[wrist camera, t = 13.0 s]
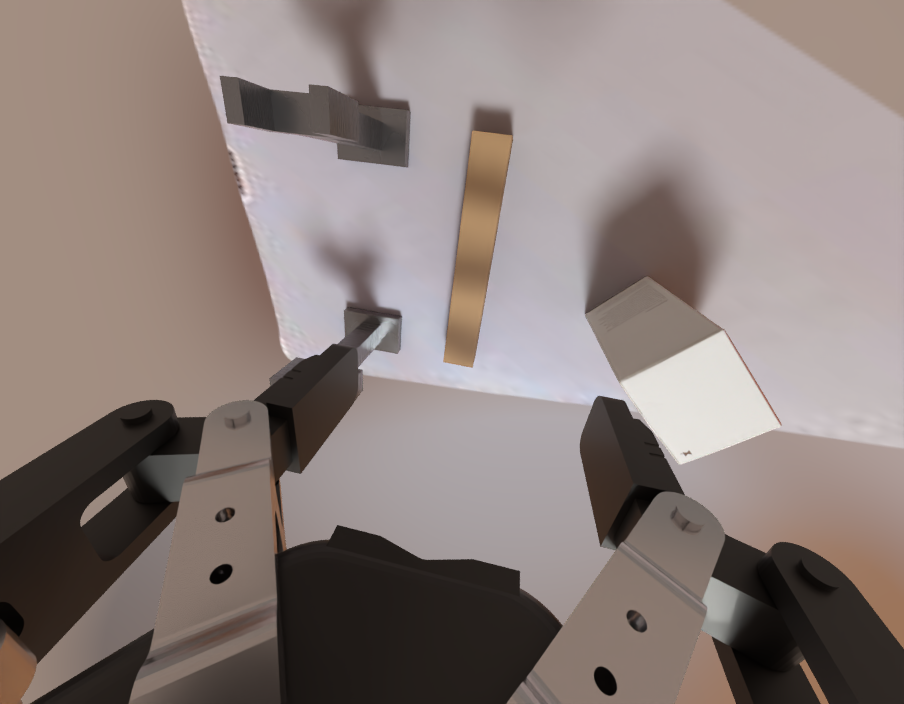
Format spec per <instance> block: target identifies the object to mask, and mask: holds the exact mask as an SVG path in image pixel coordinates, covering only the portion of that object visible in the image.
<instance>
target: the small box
mask: <svg viewBox="0 0 904 704" xmlns="http://www.w3.org/2000/svg"><path fill="white" fill-rule="evenodd" d="M585 317H586V319H587V321H588V322H589V324H590V326H591V328H592V330H593V332H594V334H595V336H596V338H597V340H598V342H599V344H600V346H601V348H602V350H603V352H604V354H605V356H606V358H607V360H608V362H609V364H610V366H611V368H612V370H613V372H614V374H615V376H616V378H617V380H618V381H619V383H620V385H621V387H622V388H623V389H624V391H625V392H626V394H627V395H628V397H629V398H630V399H631V401H632V402H633V404H634V405H635V407H636V408H637V409H638V411H639V412H640V414H641V415H642V417H643V418H644V419H645V421H646V422H647V424H648V425H649V427H650V428H651V429H652V431H653V432H654V434H655V435H656V436H657V437H658V438H659V439H660V441H661V442H662V443H663V444H664V446H665V447H666V448H667V450H668V451H669V453H670V454H671V455H672V456H673V458H674V459H675V460H676V462H677V463H678V464H679V465H681V464H683V463H686V462H689V461H692V460H695V459H698V458H701V457H703V456H706V455H709V454H711V453H714V452H717V451H719V450H722V449H725V448H727V447H730V446H732V445H735V444H737V443H740V442H742V441H745V440H748V439H750V438H753V437H756V436H758V435H760V434H763V433H766V432H768V431H770V430H773V429H776V428H778V427H781V422H780V421H779V419H778V417H777V416H776V414H775V412H774V411H773V409H772V407H771V405H770V404H769V402H768V400H767V399H766V397H765V395H764V394H763V392H762V391H761V389H760V387H759V386H758V384H757V382H756V381H755V379H754V377H753V376H752V374H751V372H750V371H749V369H748V367H747V366H746V364H745V362H744V361H743V359H742V357H741V356H740V354H739V353H738V351H737V349H736V348H735V346H734V344H733V343H732V341H731V339H730V338H729V336H728V334H727V333H726V331H725V330H724V329H722V328H721V327H719V326H718V325H716V324H715V323H713V322H712V321H711V320H709V319H708V318H706V317H705V316H704V315H702V314H701V313H699V312H698V311H696V310H695V309H694V308H692V307H691V306H689V305H688V304H686V303H685V302H684V301H682V300H681V299H679V298H678V297H677V296H675V295H674V294H672V293H671V292H670V291H668V290H667V289H665V288H664V287H662V286H661V285H660V284H658V283H657V282H656V281H654V280H653V279H651V278H650V277H648V276H647V277H644V278H643V279H641V280H640V281H638V282H636V283H635V284H633V285H632V286H630V287H628V288H627V289H625V290H624V291H622V292H620V293H619V294H617V295H616V296H614V297H612V298H611V299H609V300H607V301H606V302H604V303H603V304H601V305H599V306H598V307H596V308H595V309H593V310H592V311H590V312H588V313H587V314H585Z"/></svg>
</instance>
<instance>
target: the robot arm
mask: <svg viewBox="0 0 904 704" xmlns="http://www.w3.org/2000/svg"><path fill="white" fill-rule="evenodd" d="M357 392H358V352H357V349H356V348H353V347H348V346H343V345H338V344H332V345H331V346H330V347H329V348H328V349H326V350H325V351H324V352H323V353H322V354H321V355H320V356H319V355H314V356H312V357H309V358H307V359H305V360H302V361H301V362H299V363H298V364H297V365H296V366H295V367H293V368H292V369H291V371H289V372H287V373H286V374H285V375H284V376H283V378H280V379H279V380H278V381H276V382H275V383H274V384H273V385H272V386H270V387H269V388H268V389H267V390H266V391H264V392H263V393H262V394H261V395H260V396H258V397H257V398H256V399H255V400H254V401H252V400H243V401H235V402H231V403H228V404H225V405H223V406H221V407H218V408H217V409H215V410H214V411H212V412H211V413H210V414H209V415H208V416H207V417H189V418H188V417H185V418H177V416H176V413H175V410H174V407H173V405H172V404H170V403H169V402H166V401H162V400H146V401H140V402H136V403H132V404H129V405H126V406H123V407H121V408H119V409H116V410H115V411H113V412H111V413H109V414H108V415H106V416H105V417H103V418H101V419H100V420H98V421H96V422H95V423H93V424H91V425H90V426H88V427H86V428H85V429H83V430H82V431H80V432H78V433H77V434H75V435H73V436H72V437H70V438H68V439H67V440H65V441H64V442H62V443H60V444H59V445H57V446H55V447H54V448H52V449H51V450H49V451H47V452H46V453H44V454H42V455H41V456H39V457H37V458H36V459H34V460H32V461H31V462H29V463H28V464H26V465H24V466H23V467H21V468H19V469H18V470H16V471H14V472H13V473H11V474H10V475H8V476H7V477H5V478H3V479H1V480H0V704H22V700H21V698H22V697H23V695H24V693H25V692H26V690H27V689H28V687H29V685H30V684H31V682H32V679H33V677H34V674H35V671H36V666H37V664H38V663H39V662H40V661H41V659H42V658H43V657H44V656H45V655H46V654H47V653H48V652H49V651H50V650H51V649H52V648H53V646H55V644H57V642H58V641H59V640H60V639H61V638H62V637H63V636H64V635H65V634H66V633H67V632H68V631H69V630H70V629H71V628H72V627H73V625H74V624H75V623H76V622H77V621H78V620H79V619H80V618H81V617H82V616H83V615H84V614H85V613H86V612H87V611H88V610H89V608H90V607H91V606H92V605H93V604H94V603H95V602H96V601H97V600H98V599H99V598H100V597H101V596H102V595H103V594H104V593H105V591H107V589H108V588H109V587H110V586H111V585H112V584H113V583H114V582H115V581H116V580H117V579H118V578H119V577H120V576H121V575H122V573H124V571H125V570H126V569H127V568H128V567H129V566H130V565H131V564H132V563H133V562H134V561H135V560H136V559H137V558H138V557H139V556H140V554H141V553H142V552H143V551H144V550H145V549H146V548H147V547H148V546H149V545H150V544H151V543H152V542H153V541H154V540H155V539H156V538H157V536H158V535H159V534H160V533H161V532H162V531H163V530H164V529H165V528H166V527H167V526H168V525H169V524H170V522H172V521H173V519H174V518H175V517H176V516H177V517H176V522H175V527H174V532H173V537H172V542H171V547H170V552H169V557H168V563H167V567H166V573H165V578H164V583H163V588H162V593H161V598H160V603H159V608H158V613H157V618H156V623H155V628H154V629H152V630H151V631H149V632H147V633H146V634H144V635H143V636H141V637H139V638H138V639H136V640H134V641H132V642H131V643H129V644H128V645H126V646H124V647H123V648H121V649H119V650H118V651H116V652H114V653H113V654H111V655H110V656H108V657H106V658H105V659H103V660H101V661H100V662H98V663H96V664H95V665H93V666H91V667H90V668H88V669H87V670H85V671H83V672H81V673H80V674H78V675H77V676H75V677H73V678H71V679H70V680H68V681H67V682H65V683H63V684H62V685H60V686H58V687H57V688H56V689H53V690H52V691H50V692H48V693H47V694H45V695H43V696H42V697H40V698H38V699H37V700H35V701H34V702H32V703H30V704H675V701H676V698H677V695H678V693H679V690H680V687H681V684H682V681H683V679H684V675H685V673H686V670H687V667H688V665H689V662H690V659H691V656H692V653H693V650H694V648H695V645H696V642H697V639H698V636H699V633H700V631H701V630H702V631H704V632H706V633H707V634H709V635H711V636H712V639H713V642H714V645H715V647H716V650H717V653H718V656H719V658H720V661H721V663H722V666H723V669H724V672H725V675H726V677H727V680H728V683H729V686H730V688H731V691H732V694H733V696H734V699H735V702H736V704H820V702H819V700H818V698H817V696H816V694H815V692H814V690H813V688H812V686H811V685H810V683H809V681H808V679H807V677H806V675H805V673H804V671H803V669H802V668H801V666H800V664H799V663H800V662H802V661H803V660H804V659H805V660H806V662H807V663H808V665H809V667H810V669H811V671H812V673H813V674H814V676H815V678H816V680H817V682H818V684H819V685H820V687H821V689H822V691H823V693H824V695H825V696H826V699H827V701H828V703H829V704H904V649H903V647H902V646H901V645H900V644H899V642H898V641H897V640H896V638H895V637H894V636H893V634H892V633H891V632H890V631H889V629H888V628H887V627H886V625H885V624H884V623H883V622H882V620H881V619H880V618H879V616H878V615H877V614H876V612H875V611H874V610H873V608H872V607H871V606H870V605H869V603H868V602H867V601H866V599H865V598H864V597H863V595H862V594H861V593H860V592H859V590H858V589H857V588H856V586H855V585H854V584H853V583H852V582H851V581H850V580H849V579H848V578H847V577H846V576H845V575H844V574H843V573H842V572H841V571H840V570H839V569H838V568H836V567H835V566H834V565H833V564H831V563H830V562H829V561H827V560H826V559H824V558H823V557H821V556H819V555H818V554H816V553H814V552H812V551H810V550H809V549H806V548H804V547H802V546H799V545H796V544H793V543H788V542H779V543H776V544H774V545H773V546H772V548H771V549H770V550H769V551H768V552H767V553H764V552H762V551H760V550H758V549H756V548H753V547H751V546H749V545H747V544H745V543H742V542H740V541H738V540H736V539H734V538H732V537H729V536H728V535H726V534H725V533H724V530H723V528H722V526H721V524H720V523H719V521H718V520H717V518H716V517H715V516H714V515H713V514H712V513H711V512H710V511H709V510H708V509H706V508H705V507H704V506H703V505H701V504H700V503H698V502H697V501H695V500H693V499H691V498H689V497H687V496H685V494H684V492H683V491H682V489H681V487H680V485H679V483H678V481H677V479H676V477H675V475H674V473H673V471H672V469H671V467H670V465H669V464H668V462H667V460H666V459H665V458H664V454H663V452H662V450H661V448H659V444H658V442H657V440H656V438H655V437H654V435H653V433H652V431H651V430H650V429H649V428H647V427H646V426H645V425H644V424H643V423H642V422H641V421H640V420H639V419H633V417H632V415H631V413H630V411H629V409H628V407H627V405H626V403H625V401H623V400H618V399H613V398H608V397H603V396H598V397H597V398H596V399H595V401H594V403H593V406H592V409H591V412H590V414H589V416H588V419H587V422H586V424H585V427H584V429H583V432H582V435H581V440H580V454H581V458H582V463H583V467H584V472H585V477H586V482H587V486H588V491H589V496H590V500H591V505H592V509H593V514H594V519H595V523H596V528H597V532H598V537H599V542H600V546H601V547H604V548H608V549H613V550H616V551H615V552H614V554H613V555H612V557H611V558H610V560H609V561H608V562H607V564H606V565H605V567H604V568H603V570H602V571H601V572H600V574H599V575H598V577H597V578H596V579H595V581H594V582H593V584H592V585H591V587H590V588H589V589H588V591H587V592H586V594H585V595H584V597H583V598H582V600H581V601H580V602H579V604H578V605H577V607H576V608H575V609H574V611H573V613H572V614H571V615H570V617H569V618H568V619H567V621H566V622H565V624H564V625H562V624H561V623H560V622H559V620H558V619H557V618H556V617H555V616H554V615H553V614H552V613H551V612H550V611H549V610H548V609H547V608H546V607H545V606H544V605H543V604H542V603H541V602H539V601H538V600H537V599H535V598H534V597H533V596H531V595H530V594H529V593H527V592H526V591H524V590H522V589H520V571H517V570H513V569H509V568H505V567H501V566H497V565H493V564H489V563H486V562H482V561H477V560H474V559H470V560H469V559H467V560H466V559H465V560H464V559H461V560H424V559H421V558H418V557H417V556H415V555H413V554H411V553H409V552H408V551H406V550H404V549H402V548H401V547H399V546H397V545H395V544H393V543H392V542H390V541H388V540H386V539H385V538H383V537H381V536H378V535H374V534H370V533H367V532H362V531H358V530H354V529H350V528H347V527H343V526H339V525H337V527H336V529H335V531H334V533H333V534H332V536H331V538H330V540H320V541H313V542H308V543H305V544H300V545H298V546H295V547H292V548H289V549H287V548H286V540H285V530H284V519H283V508H282V497H281V485H280V479H279V478H280V477H281V476H282V474H283V473H284V472H285V471H286V470H287V471H291V472H295V473H299V474H301V473H302V471H303V470H304V469H305V467H306V466H307V465H308V463H309V462H310V461H311V459H312V458H313V457H314V455H315V454H316V453H317V451H318V450H319V448H320V447H321V446H322V445H323V443H324V442H325V441H326V439H327V438H328V437H329V435H330V434H331V433H332V431H333V430H334V429H335V427H336V426H337V425H338V423H339V422H340V420H341V419H342V418H343V417H344V415H345V414H346V413H347V411H348V410H349V409H350V407H351V406H352V404H353V403H354V401H355V399H356V396H357ZM122 477H123V479H124V480H125V483H126V485H127V487H128V488H127V489H126V490H125V491H123V492H122V493H121V494H120V495H119V496H118V497H116V498H115V499H114V500H113V501H112V502H111V503H109V504H108V505H107V506H106V507H104V508H103V509H102V510H101V511H100V512H99V513H97V514H96V515H95V516H94V517H93V518H91V519H90V520H89V521H88V522H87V523H86V524H84V525H83V526H82V527H81V526H80V519H81V516H82V514H83V512H84V510H85V509H86V508H87V506H88V505H89V504H90V503H91V502H92V501H93V500H94V499H95V498H97V497H98V496H99V495H100V494H102V493H103V492H104V491H106V490H107V489H108V488H109V487H110V486H112V485H113V484H114V483H116V482H117V481H118V480H119V479H121V478H122Z"/></svg>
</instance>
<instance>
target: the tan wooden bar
mask: <svg viewBox="0 0 904 704" xmlns="http://www.w3.org/2000/svg"><path fill="white" fill-rule="evenodd" d="M512 142H513V136H512V135H504V134H496V133H488V132H480V131H472V138H471V146H470V154H469V162H468V170H467V178H466V186H465V194H464V202H463V210H462V218H461V226H460V234H459V242H458V250H457V258H456V266H455V273H454V281H453V289H452V297H451V305H450V313H449V321H448V329H447V337H446V345H445V353H444V361H443V362H446V363H451V364H456V365H461V366H467V367H473V363H474V359H475V355H476V349H477V344H478V338H479V332H480V326H481V321H482V315H483V309H484V303H485V298H486V292H487V286H488V280H489V275H490V269H491V263H492V257H493V252H494V246H495V240H496V234H497V229H498V223H499V217H500V211H501V206H502V200H503V194H504V188H505V183H506V177H507V171H508V165H509V160H510V154H511V148H512Z"/></svg>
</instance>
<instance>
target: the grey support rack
mask: <svg viewBox="0 0 904 704" xmlns="http://www.w3.org/2000/svg"><path fill="white" fill-rule="evenodd" d="M220 80H221V86H222V92H223V98H224V104H225V110H226V117H227V123H229V124H234V125H239V126H244V127H249V128H254V129H259V130H264V131H269V132H277V133H285V134H294V135H301V136H306V137H310V138H315V139H320V140H324V141H329V142H334V143H337V148H338V159H343V160H352V161H360V162H368V163H376V164H385V165H393V166H401V167H408V158H409V134H410V112H409V111H408V110H403V109H394V108H384V107H374V106H364V105H358V101H357V100H354V99H352V98H350V97H348V96H346V95H344V94H342V93H340V92H338V91H336V90H334V89H332V88H330V87H328V86H320V85H309V93H299V92H289V91H279V90H270V89H267V88H265V87H262V86H259V85H257V84H254V83H251V82H248V81H246V80H243V79H240V78H237V77H226V76H220ZM344 320H345V338H344V339H343V340H342V341H340V342H339V343H338V345H343V346H348V347H353V348H356V349H357V352H358V367H359V366H360V365H361V363H362V362H363V361H364V360H365V359H366V358H367V357H368V356H369V354H370V353H371V352H372V351H373V350H380V351H385V352H390V353H396V354H398V352H399V351H400V346H401V323H402V316H396V315H390V314H384V313H379V312H373V311H367V310H361V309H355V308H349V307H348V308H347V309H345V310H344ZM302 360H305V359H302V358H297V357H296V358H295V359H294V360H293V361H291V362H290V363H289V364H288V365H286V366H285V367H284V368H282V369H281V370H280V371H279V372H277V373H276V374H275V375H273V376H272V377H271V378H270V385H271V386H272V385H273V384H274V383H275V382H276V381H278V380H279V379H280V378H283V376H284V375H285V374H286V373H287V372H289V371H291V369H292V368H293V367H295V366H296V365H297V364H298V363H299V362H301V361H302ZM362 391H363V371H362V370H360V369H358V392H357V396H356V399H357V397H358V396H359V395H360V393H361V392H362ZM356 399H355V400H356Z"/></svg>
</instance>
